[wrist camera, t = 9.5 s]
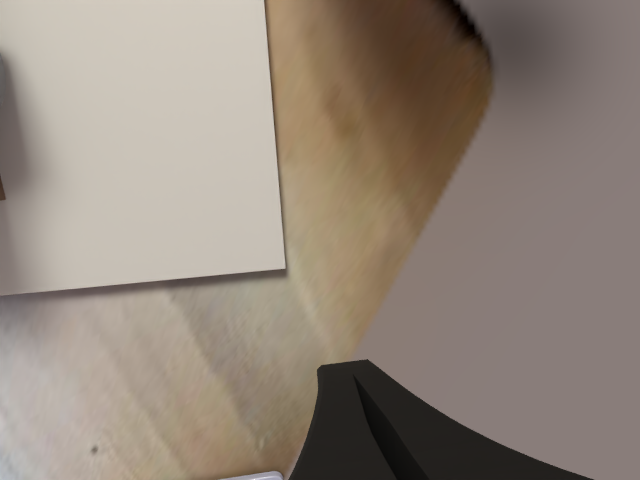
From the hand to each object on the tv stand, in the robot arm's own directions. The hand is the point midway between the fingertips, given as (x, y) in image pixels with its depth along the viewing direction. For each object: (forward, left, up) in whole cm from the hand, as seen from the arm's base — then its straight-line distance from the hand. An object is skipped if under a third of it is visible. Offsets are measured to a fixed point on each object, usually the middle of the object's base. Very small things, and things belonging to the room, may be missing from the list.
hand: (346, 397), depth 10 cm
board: (+9, +10, -9) cm, 16 cm away
